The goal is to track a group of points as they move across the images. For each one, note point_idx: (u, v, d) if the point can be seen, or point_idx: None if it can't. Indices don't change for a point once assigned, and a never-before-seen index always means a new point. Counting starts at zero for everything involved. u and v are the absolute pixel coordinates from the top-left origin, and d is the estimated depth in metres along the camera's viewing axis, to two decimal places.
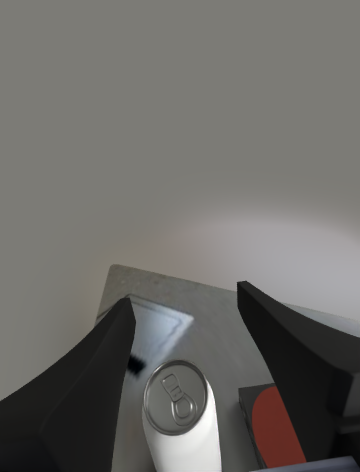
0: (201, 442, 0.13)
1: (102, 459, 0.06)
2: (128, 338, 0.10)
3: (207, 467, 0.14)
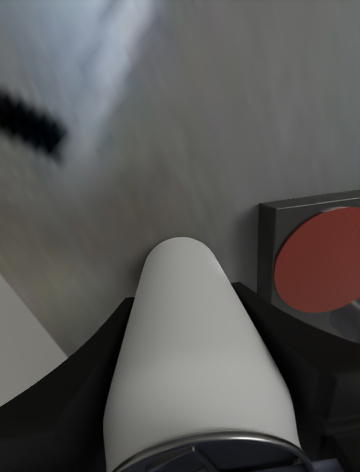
0: None
1: None
2: None
3: None
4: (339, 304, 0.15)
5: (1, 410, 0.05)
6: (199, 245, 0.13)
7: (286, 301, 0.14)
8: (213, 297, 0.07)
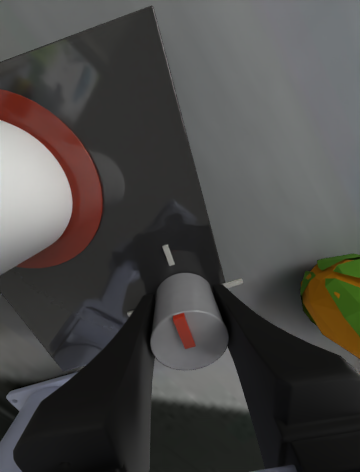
0: None
1: (143, 453, 0.06)
2: None
3: None
4: (72, 249, 0.10)
5: (44, 403, 0.05)
6: None
7: None
8: None
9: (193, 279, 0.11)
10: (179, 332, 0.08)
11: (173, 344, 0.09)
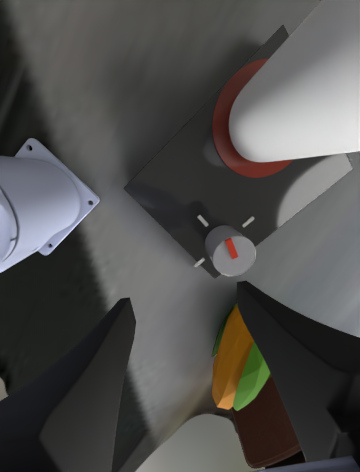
0: None
1: (102, 459, 0.06)
2: (128, 338, 0.10)
3: (305, 153, 0.10)
4: (236, 166, 0.16)
5: None
6: None
7: (215, 114, 0.15)
8: None
9: (229, 227, 0.18)
10: (229, 248, 0.15)
11: (225, 258, 0.16)
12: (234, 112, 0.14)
